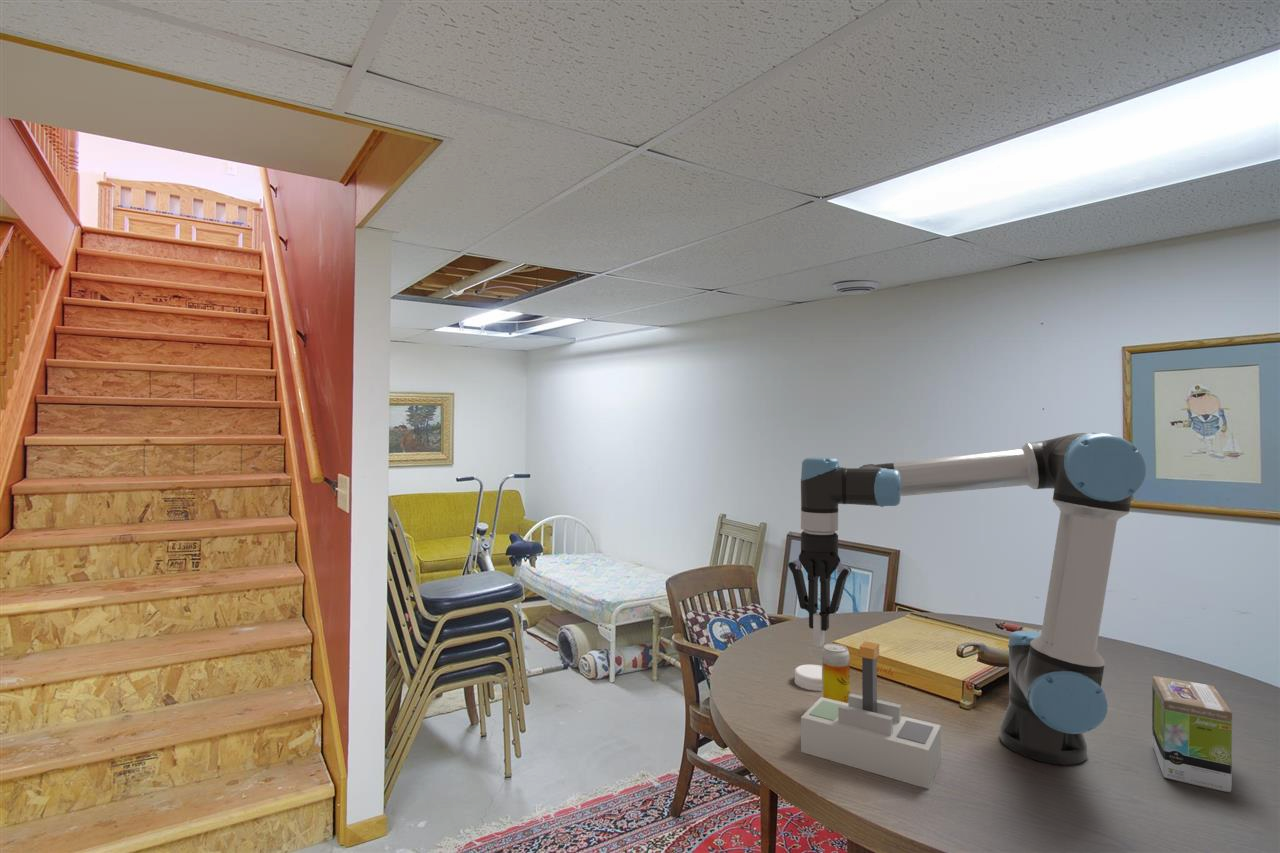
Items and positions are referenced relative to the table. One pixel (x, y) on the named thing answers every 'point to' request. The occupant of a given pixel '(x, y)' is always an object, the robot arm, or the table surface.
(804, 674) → the white short cylinder
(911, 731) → the breaker block
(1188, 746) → the tea box
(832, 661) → the beer can
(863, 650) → the lever
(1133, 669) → the table surface
